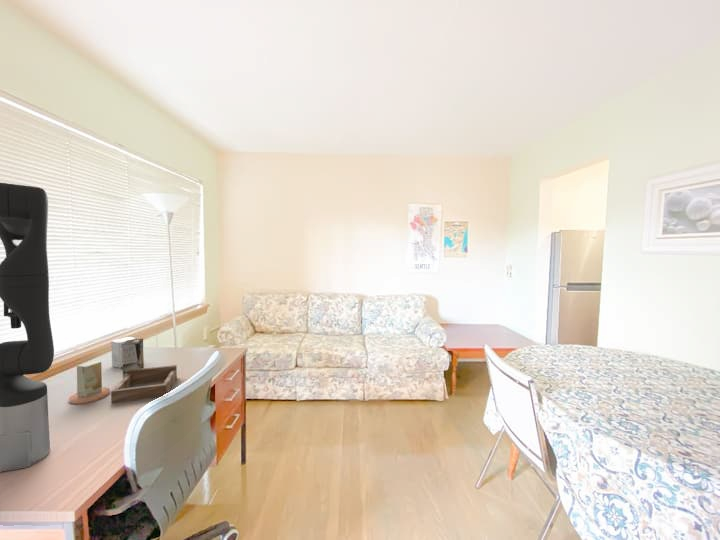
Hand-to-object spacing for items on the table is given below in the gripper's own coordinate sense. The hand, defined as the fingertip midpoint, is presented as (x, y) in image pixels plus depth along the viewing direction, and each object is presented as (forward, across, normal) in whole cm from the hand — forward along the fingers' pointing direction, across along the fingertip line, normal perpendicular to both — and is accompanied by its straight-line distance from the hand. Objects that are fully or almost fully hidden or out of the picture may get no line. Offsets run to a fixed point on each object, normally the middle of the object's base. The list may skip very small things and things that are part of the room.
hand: (25, 325), depth 102 cm
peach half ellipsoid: (+32, +10, -13) cm, 36 cm away
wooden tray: (+32, +10, -32) cm, 46 cm away
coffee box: (+32, +28, -22) cm, 48 cm away
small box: (+32, +45, -12) cm, 57 cm away
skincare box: (+31, +10, -13) cm, 35 cm away
